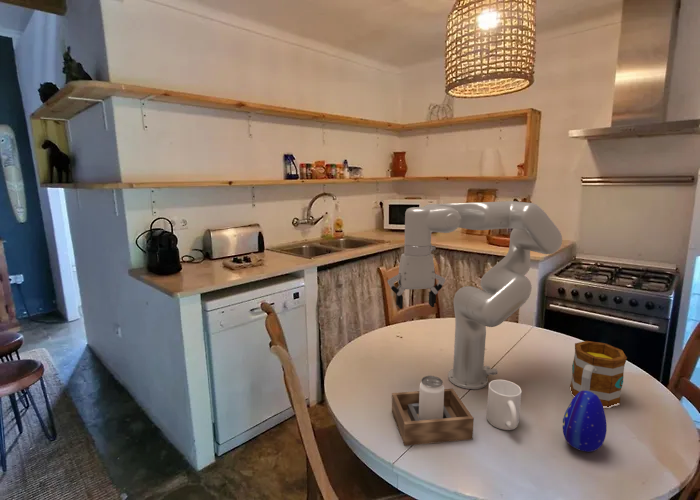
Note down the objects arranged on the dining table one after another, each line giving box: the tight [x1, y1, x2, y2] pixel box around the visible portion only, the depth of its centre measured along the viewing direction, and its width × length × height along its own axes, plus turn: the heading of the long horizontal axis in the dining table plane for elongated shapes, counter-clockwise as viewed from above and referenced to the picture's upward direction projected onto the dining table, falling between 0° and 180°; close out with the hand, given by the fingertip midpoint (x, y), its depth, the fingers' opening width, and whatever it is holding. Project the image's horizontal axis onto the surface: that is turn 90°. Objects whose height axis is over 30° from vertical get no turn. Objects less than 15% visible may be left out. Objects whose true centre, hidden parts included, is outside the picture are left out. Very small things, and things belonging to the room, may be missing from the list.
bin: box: [391, 388, 475, 447], centre depth 105 cm, size 18×14×6 cm
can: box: [418, 375, 445, 420], centre depth 104 cm, size 6×6×12 cm
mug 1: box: [486, 379, 522, 431], centre depth 104 cm, size 12×8×10 cm
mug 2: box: [569, 340, 628, 407], centre depth 115 cm, size 20×14×15 cm
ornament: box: [562, 391, 608, 453], centre depth 95 cm, size 11×9×15 cm
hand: (415, 306), depth 115 cm, fingers open, 9 cm apart
